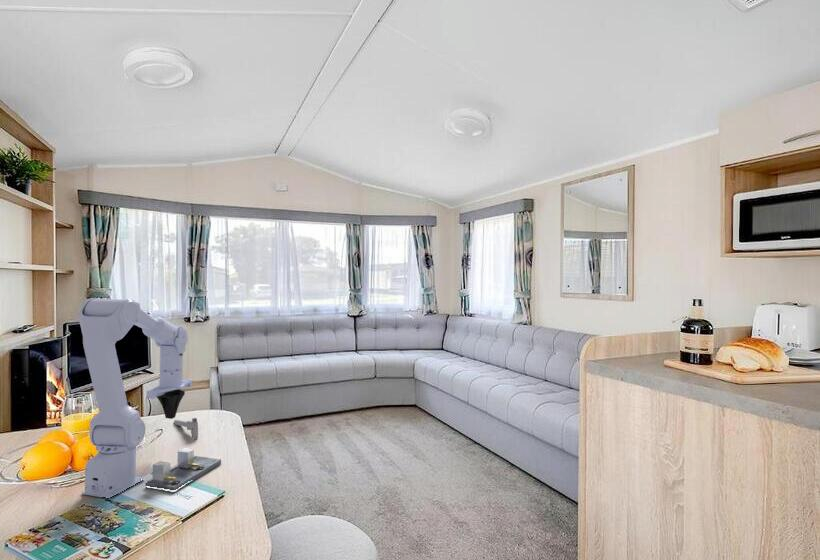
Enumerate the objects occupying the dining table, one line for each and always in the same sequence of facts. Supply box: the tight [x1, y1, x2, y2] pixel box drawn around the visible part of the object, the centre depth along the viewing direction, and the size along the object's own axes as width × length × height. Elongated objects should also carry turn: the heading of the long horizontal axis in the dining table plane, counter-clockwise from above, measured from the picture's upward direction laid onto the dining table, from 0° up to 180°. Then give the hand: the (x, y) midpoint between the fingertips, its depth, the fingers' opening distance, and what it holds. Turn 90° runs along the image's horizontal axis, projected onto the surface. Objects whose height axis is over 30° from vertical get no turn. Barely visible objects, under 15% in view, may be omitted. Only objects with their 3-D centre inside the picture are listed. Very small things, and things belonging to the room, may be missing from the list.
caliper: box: [173, 417, 199, 440], centre depth 138 cm, size 20×1×6 cm, turn 45°
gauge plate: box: [144, 455, 222, 490], centre depth 107 cm, size 16×8×5 cm, turn 166°
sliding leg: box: [177, 447, 200, 469], centre depth 109 cm, size 2×5×4 cm, turn 76°
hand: (170, 417), depth 122 cm, fingers closed
